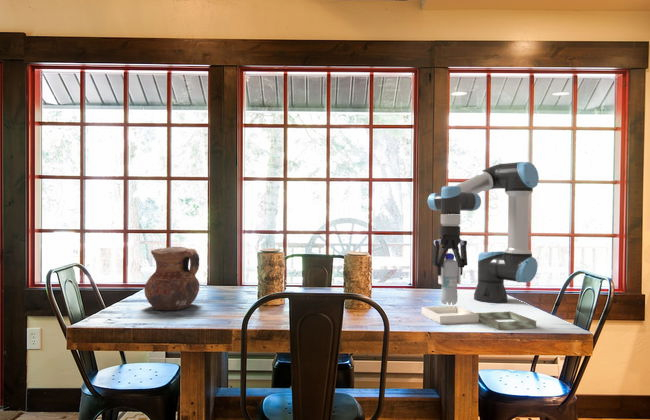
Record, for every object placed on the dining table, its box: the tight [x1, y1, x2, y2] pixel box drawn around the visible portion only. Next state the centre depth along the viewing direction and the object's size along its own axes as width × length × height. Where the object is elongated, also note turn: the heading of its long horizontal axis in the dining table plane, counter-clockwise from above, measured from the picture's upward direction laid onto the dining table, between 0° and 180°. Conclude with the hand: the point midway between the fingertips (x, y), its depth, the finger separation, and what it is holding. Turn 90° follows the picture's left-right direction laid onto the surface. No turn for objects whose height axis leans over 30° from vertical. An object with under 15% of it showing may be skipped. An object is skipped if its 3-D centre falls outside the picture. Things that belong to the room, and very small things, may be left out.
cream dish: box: [421, 305, 480, 325], centre depth 179 cm, size 16×16×3 cm
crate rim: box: [475, 310, 537, 331], centre depth 172 cm, size 16×16×2 cm
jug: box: [143, 246, 200, 311], centre depth 193 cm, size 22×21×25 cm
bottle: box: [440, 252, 458, 306], centre depth 179 cm, size 7×7×20 cm
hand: (449, 283), depth 179 cm, fingers closed on bottle, 7 cm apart
